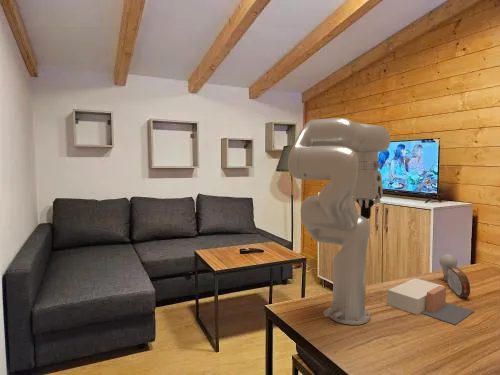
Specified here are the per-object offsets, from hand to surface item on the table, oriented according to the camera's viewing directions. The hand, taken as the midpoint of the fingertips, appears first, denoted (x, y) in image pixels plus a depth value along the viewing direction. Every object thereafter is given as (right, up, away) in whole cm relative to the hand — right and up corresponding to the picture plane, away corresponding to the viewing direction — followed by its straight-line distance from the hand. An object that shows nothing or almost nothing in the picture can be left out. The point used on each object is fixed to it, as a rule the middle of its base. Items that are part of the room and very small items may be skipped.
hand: (365, 218), depth 123 cm
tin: (+34, -27, +2) cm, 43 cm away
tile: (+18, -25, -11) cm, 33 cm away
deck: (+15, -28, -7) cm, 32 cm away
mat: (+21, -28, -14) cm, 38 cm away
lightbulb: (+36, -26, +13) cm, 47 cm away
